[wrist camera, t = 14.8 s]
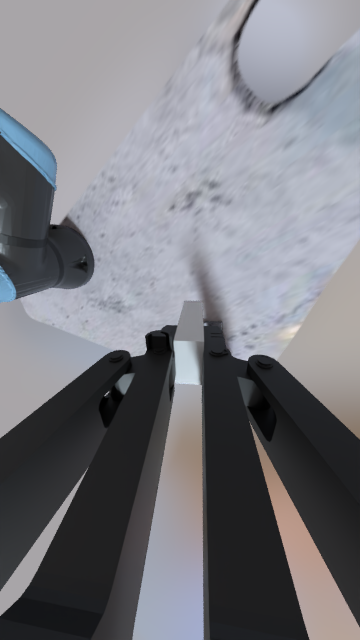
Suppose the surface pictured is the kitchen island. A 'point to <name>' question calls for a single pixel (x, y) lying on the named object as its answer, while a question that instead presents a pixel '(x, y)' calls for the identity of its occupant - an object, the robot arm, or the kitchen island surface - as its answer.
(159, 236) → the kitchen island surface
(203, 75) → the kitchen island surface
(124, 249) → the kitchen island surface
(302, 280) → the kitchen island surface
